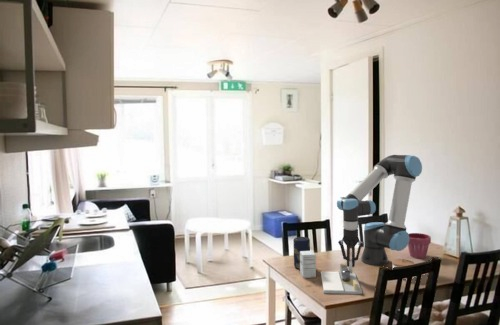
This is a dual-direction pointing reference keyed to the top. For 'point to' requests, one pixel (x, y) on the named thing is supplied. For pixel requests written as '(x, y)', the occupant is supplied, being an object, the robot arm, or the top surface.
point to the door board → (339, 283)
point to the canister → (300, 248)
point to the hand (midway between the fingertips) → (350, 272)
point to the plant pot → (418, 244)
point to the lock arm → (344, 272)
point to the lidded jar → (401, 263)
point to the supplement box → (307, 264)
